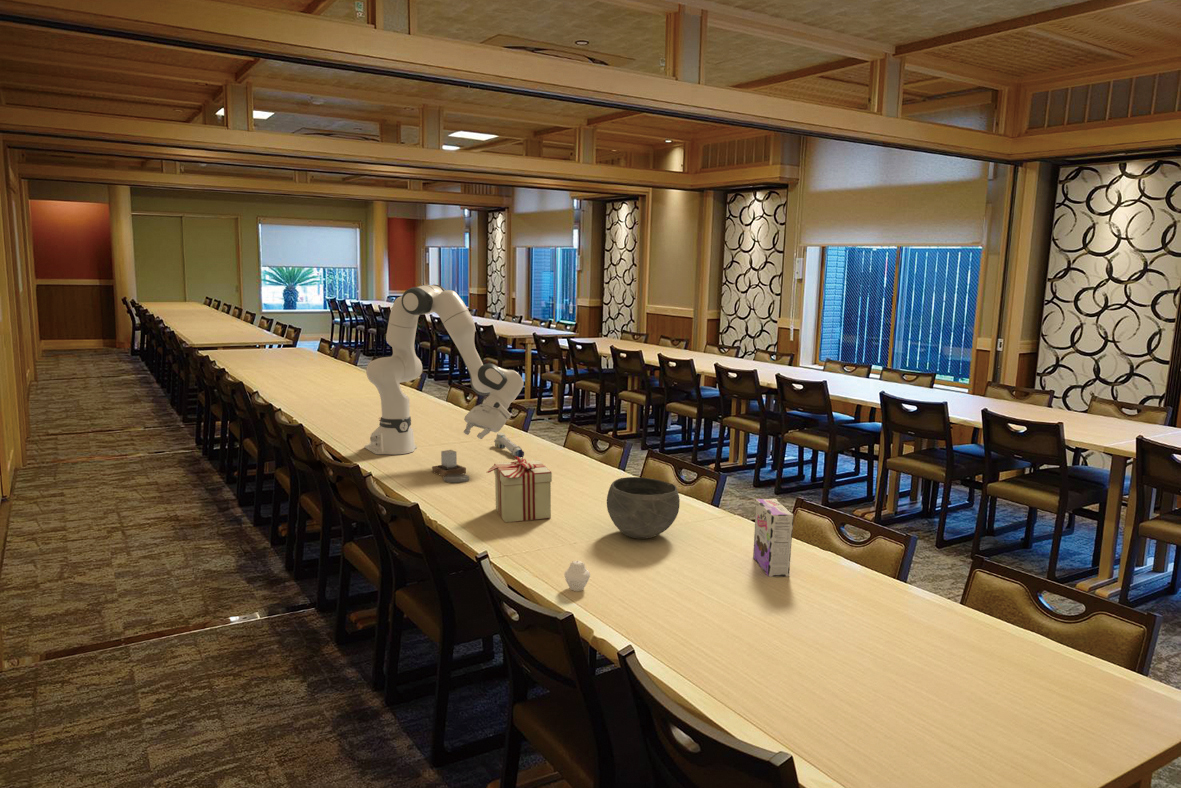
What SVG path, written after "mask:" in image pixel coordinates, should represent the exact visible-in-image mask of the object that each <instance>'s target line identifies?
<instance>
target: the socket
mask: <svg viewBox="0 0 1181 788" xmlns="http://www.w3.org/2000/svg"><path fill="white" fill-rule="evenodd" d="M431 472H432V473H434V472H435V473H434V474H436V473H437V475H439V474H440V475H439V476H441V475H442V476H441V477H444V476H446V475H449V474H463V473H464V474H467V468H466V467H465V466H462V465H459V464H457V469H452V470H443V469H441V464H439V465H433V466H432V467H431Z"/></svg>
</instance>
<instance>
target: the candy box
mask: <svg viewBox="0 0 1181 788" xmlns="http://www.w3.org/2000/svg"><path fill="white" fill-rule="evenodd" d="M754 514H755V516H754V533H753V535H754V539H753V550H752V551H753V553H752V555H753V556H752V558H753V559H754V560H755V562H756V563H757V564H758V566H759V567H760V568H761V569H762V571H763V572H764V573H765V574H766V576H767V577H775V578H776V577H777V578H778V577H779V578H780V577H782V578H783V577H784V578H787V577H790V572H791V571H790V570H791V569H790V567H791V555H792V540H793V529H794V528H793V527H794V513H792V512H791V511H789V510H788V509H787V508H786V507H785V506H784V505H783V504H782V503H781V502H780V501H779V500H778V499H777V498H756V499H755V513H754Z"/></svg>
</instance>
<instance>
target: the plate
mask: <svg viewBox="0 0 1181 788" xmlns="http://www.w3.org/2000/svg"><path fill="white" fill-rule="evenodd" d="M445 481H446V482H445ZM466 481H467V482H469V481H470V475H468V474H466V473H464V474H449V475H446V476H443V482H445V483H448V482H451V483H450V484H460V483H459V482H462V483H466Z"/></svg>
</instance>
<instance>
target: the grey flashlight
mask: <svg viewBox="0 0 1181 788" xmlns="http://www.w3.org/2000/svg"><path fill="white" fill-rule="evenodd" d="M506 436H507V435H506V433H504V432H500V431H499V432H497V434H496V438H494V441H493V442H494V446H495V448H498V449H505V447H506V449H507V450H508V451H509V452H510V454H511V455H512V456H513V457H514V456H517V457H520V458H521V457H522V458H524V456H525V451H524V450H523V449H522V447H521V446H520V445H517V444H515V443H514V442H513V441H512V440H510V439H509V438H508V437H506Z"/></svg>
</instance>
